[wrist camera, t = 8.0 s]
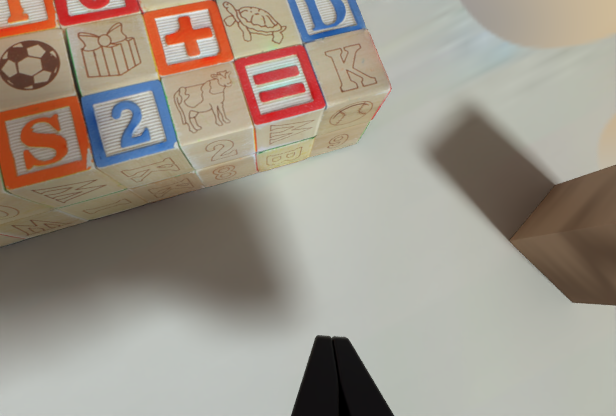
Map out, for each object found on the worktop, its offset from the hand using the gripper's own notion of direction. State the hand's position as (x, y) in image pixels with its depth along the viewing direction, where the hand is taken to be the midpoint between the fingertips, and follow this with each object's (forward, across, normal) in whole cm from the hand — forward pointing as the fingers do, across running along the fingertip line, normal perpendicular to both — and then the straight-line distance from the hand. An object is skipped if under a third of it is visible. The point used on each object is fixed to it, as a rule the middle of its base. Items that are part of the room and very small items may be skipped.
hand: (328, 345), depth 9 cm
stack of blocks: (+8, +7, +1) cm, 11 cm away
